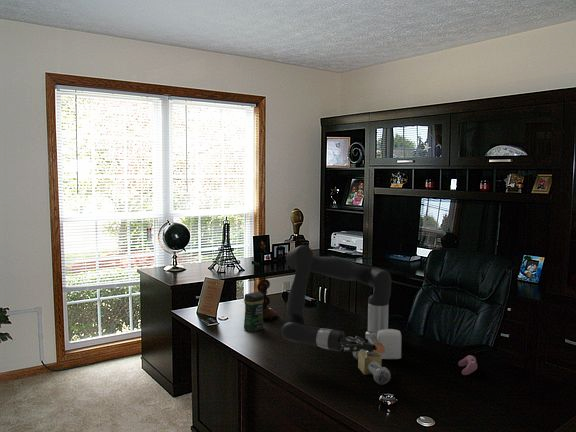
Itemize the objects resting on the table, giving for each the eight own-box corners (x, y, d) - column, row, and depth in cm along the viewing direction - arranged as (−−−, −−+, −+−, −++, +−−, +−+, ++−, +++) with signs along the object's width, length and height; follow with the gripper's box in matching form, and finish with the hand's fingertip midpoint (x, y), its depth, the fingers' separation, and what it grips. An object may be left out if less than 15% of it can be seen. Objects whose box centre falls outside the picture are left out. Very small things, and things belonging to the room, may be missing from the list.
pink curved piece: (471, 380, 186) (481, 365, 184) (460, 374, 186) (470, 359, 185) (467, 369, 195) (476, 355, 194) (456, 364, 196) (465, 349, 195)
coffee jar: (252, 333, 232) (252, 295, 230) (241, 329, 237) (241, 293, 236) (266, 328, 239) (266, 292, 237) (255, 325, 245) (255, 289, 243)
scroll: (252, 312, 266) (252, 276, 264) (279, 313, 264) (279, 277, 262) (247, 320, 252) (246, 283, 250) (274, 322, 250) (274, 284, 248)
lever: (364, 336, 191) (364, 331, 191) (373, 336, 191) (373, 330, 191) (375, 353, 174) (375, 346, 174) (385, 352, 175) (385, 346, 174)
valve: (351, 360, 201) (352, 330, 199) (367, 358, 202) (368, 329, 201) (373, 385, 177) (374, 352, 176) (391, 383, 179) (392, 351, 177)
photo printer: (377, 359, 201) (378, 331, 200) (375, 355, 205) (376, 327, 204) (402, 360, 201) (402, 331, 200) (399, 356, 205) (400, 327, 204)
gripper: (323, 335, 179) (367, 343, 171) (337, 325, 190) (379, 332, 182) (323, 354, 180) (367, 364, 171) (337, 343, 191) (379, 351, 183)
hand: (373, 347), depth 177 cm, fingers closed
